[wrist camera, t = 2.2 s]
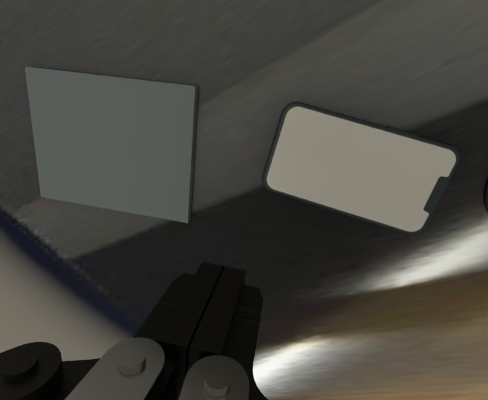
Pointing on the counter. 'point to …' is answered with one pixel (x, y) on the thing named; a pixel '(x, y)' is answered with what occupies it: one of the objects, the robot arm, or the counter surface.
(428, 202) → the smartphone
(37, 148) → the mat
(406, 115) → the counter surface
